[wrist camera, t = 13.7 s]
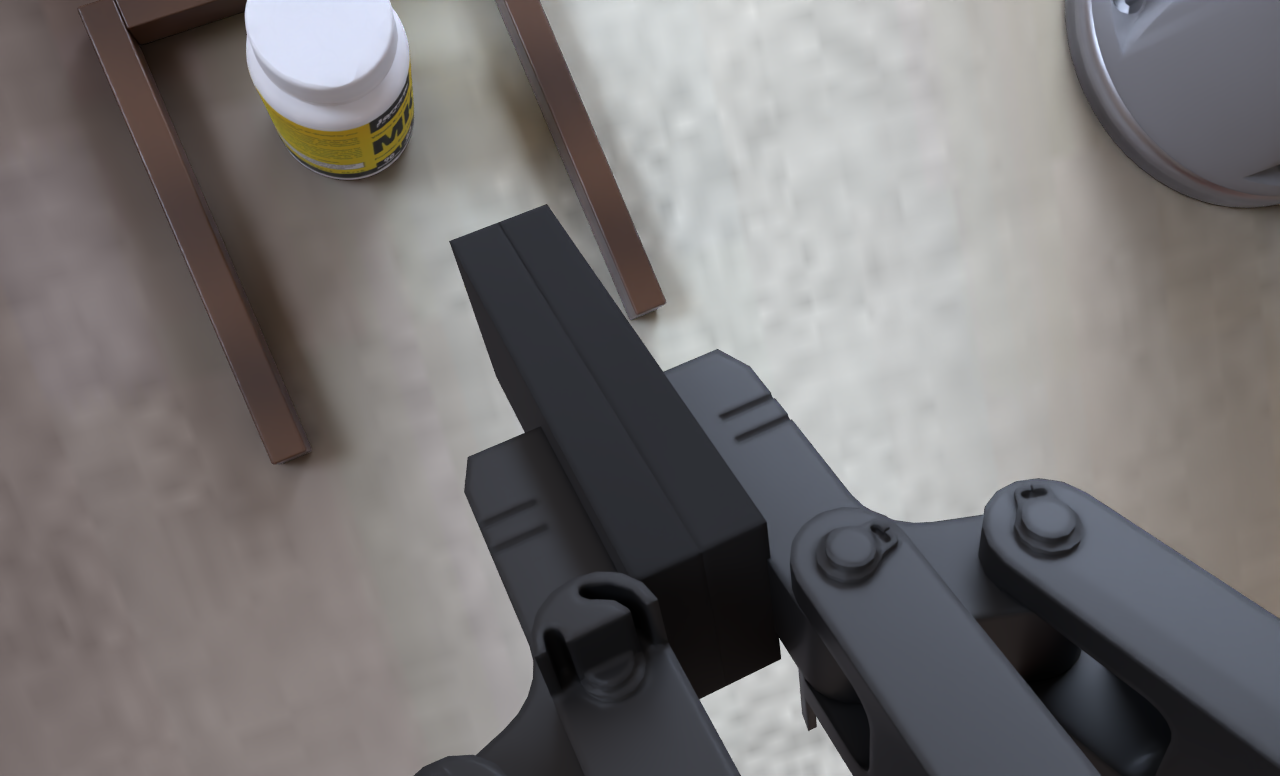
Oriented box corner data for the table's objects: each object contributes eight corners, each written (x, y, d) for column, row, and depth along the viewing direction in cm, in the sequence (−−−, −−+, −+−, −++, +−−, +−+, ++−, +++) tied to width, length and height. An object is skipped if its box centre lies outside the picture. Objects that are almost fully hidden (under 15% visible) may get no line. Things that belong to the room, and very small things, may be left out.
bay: (659, 308, 39) (667, 303, 37) (279, 465, 36) (271, 465, 35) (486, -102, 39) (488, -124, 37) (91, 24, 36) (75, 6, 34)
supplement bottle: (399, 196, 37) (386, 124, 29) (262, 164, 37) (209, 80, 28) (428, 68, 38) (423, -39, 30) (293, 33, 37) (250, -87, 29)
